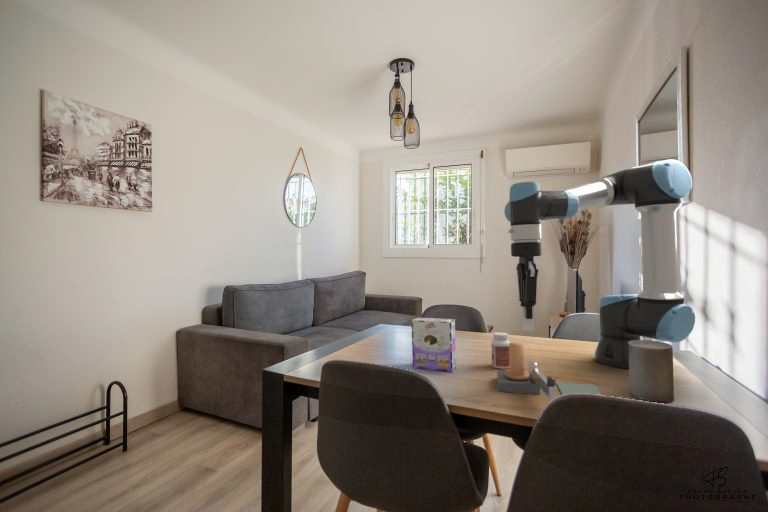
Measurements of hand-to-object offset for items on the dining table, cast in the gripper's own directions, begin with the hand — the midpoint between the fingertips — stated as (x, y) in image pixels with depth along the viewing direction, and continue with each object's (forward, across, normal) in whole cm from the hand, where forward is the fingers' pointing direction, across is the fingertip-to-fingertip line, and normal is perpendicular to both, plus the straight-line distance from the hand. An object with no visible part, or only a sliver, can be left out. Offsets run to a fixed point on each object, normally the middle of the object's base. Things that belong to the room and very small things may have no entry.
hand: (528, 330), depth 101 cm
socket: (+18, -8, -2) cm, 20 cm away
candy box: (+18, -23, -25) cm, 39 cm away
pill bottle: (+18, -26, -3) cm, 32 cm away
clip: (+15, +3, +2) cm, 15 cm away
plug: (+18, -8, -2) cm, 20 cm away
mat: (+18, -4, +14) cm, 23 cm away
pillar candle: (+18, -3, +31) cm, 36 cm away
